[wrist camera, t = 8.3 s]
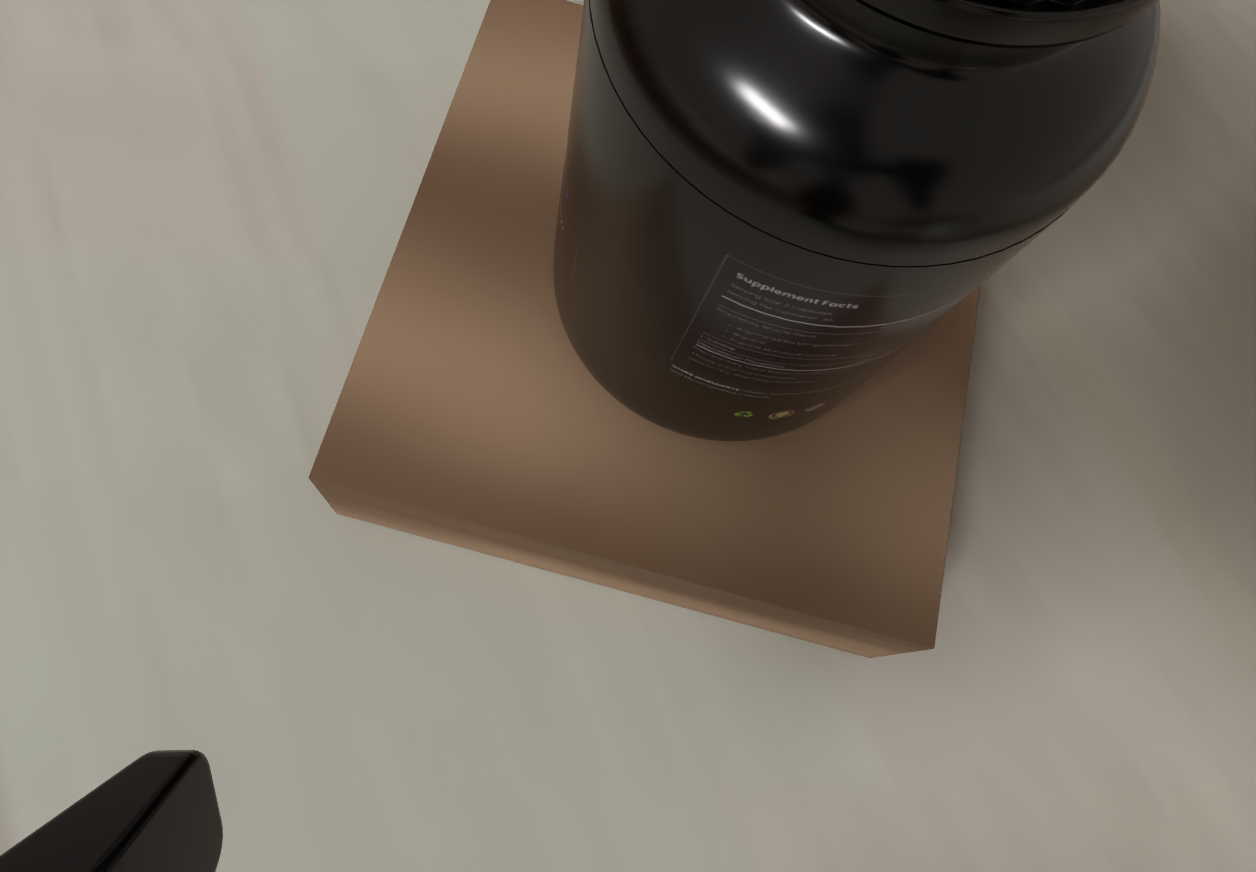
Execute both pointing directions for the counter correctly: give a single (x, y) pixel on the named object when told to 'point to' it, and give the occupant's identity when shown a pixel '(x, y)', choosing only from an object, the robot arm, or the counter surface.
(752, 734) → the counter surface
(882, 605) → the walnut plinth
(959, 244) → the supplement bottle
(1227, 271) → the counter surface
